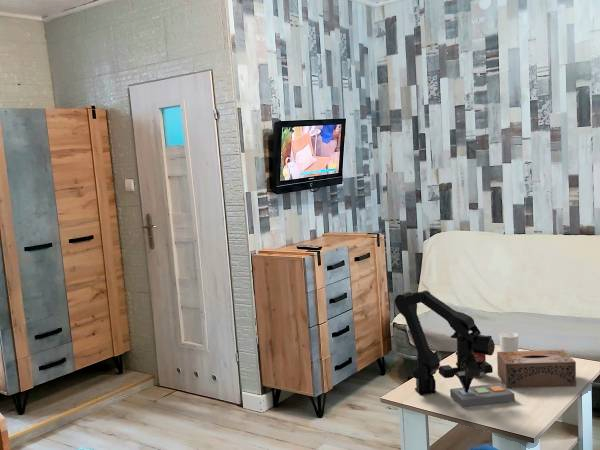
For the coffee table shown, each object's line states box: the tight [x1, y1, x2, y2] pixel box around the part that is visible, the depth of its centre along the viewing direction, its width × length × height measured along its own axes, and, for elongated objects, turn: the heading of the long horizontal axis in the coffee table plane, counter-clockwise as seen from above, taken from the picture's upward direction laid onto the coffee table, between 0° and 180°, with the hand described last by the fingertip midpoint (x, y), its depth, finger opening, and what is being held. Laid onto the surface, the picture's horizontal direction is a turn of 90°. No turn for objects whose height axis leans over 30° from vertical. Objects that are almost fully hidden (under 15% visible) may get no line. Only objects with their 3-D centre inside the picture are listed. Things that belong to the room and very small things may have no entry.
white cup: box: [499, 331, 519, 352], centre depth 267 cm, size 8×8×10 cm
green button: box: [474, 388, 489, 394], centre depth 223 cm, size 4×4×3 cm
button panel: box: [449, 382, 516, 409], centre depth 223 cm, size 20×11×3 cm, turn 99°
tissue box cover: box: [496, 349, 577, 389], centre depth 238 cm, size 26×14×10 cm, turn 85°
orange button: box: [489, 386, 505, 392], centre depth 224 cm, size 4×4×3 cm
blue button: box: [459, 390, 474, 396], centre depth 223 cm, size 4×4×3 cm
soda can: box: [473, 351, 487, 378], centre depth 247 cm, size 7×7×12 cm
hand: (466, 391), depth 222 cm, fingers closed, pressing on blue button
